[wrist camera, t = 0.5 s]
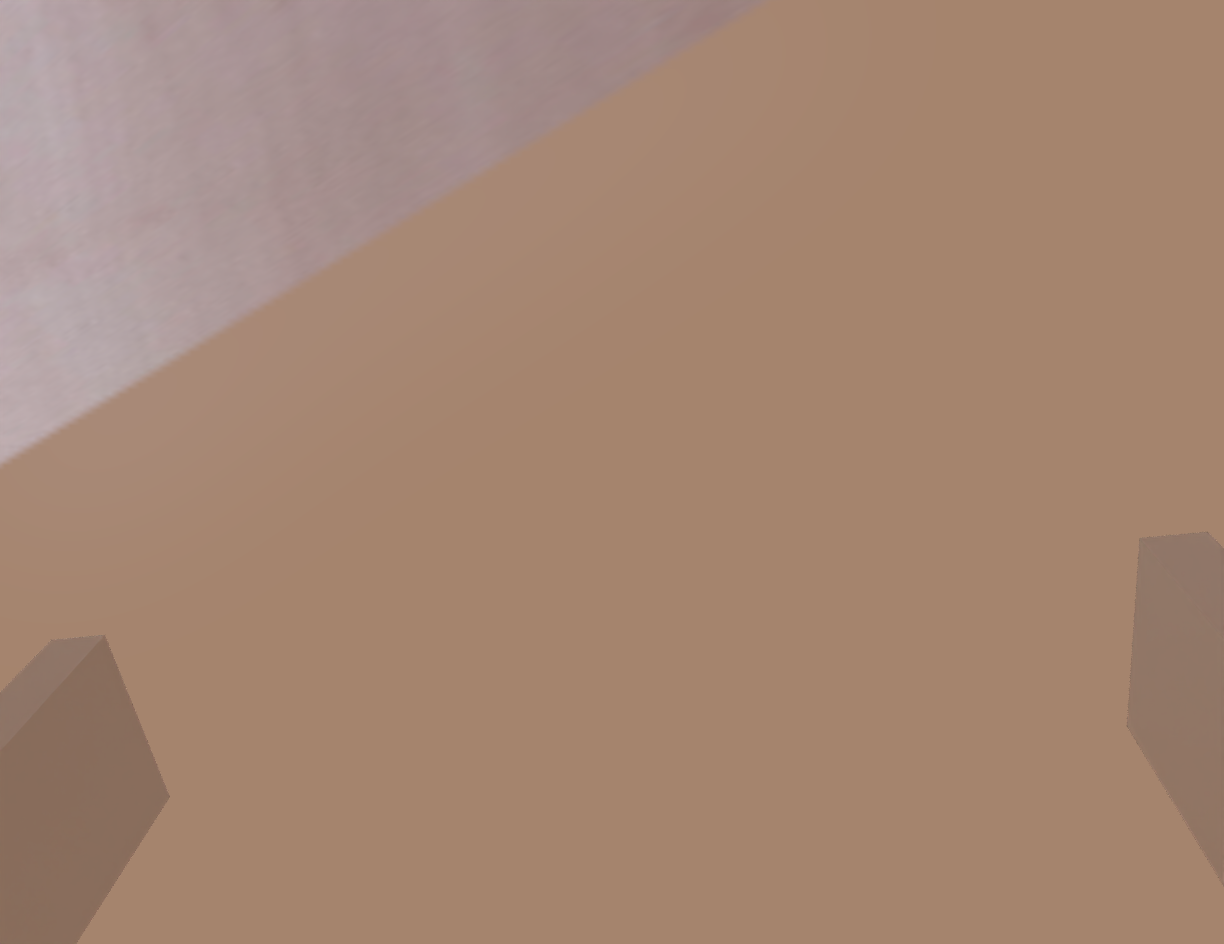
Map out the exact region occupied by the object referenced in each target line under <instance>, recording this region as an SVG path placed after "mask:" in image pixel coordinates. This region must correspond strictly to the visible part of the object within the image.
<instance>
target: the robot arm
mask: <svg viewBox="0 0 1224 944" xmlns="http://www.w3.org/2000/svg"><path fill="white" fill-rule="evenodd" d="M1133 629H1134V630H1133V643H1132V644H1133V645H1132V658H1131V673H1130V674H1131V675H1130V688H1129V703H1128V717H1127V727H1128V729H1129V730H1130V732H1131V734H1132V735H1133V737H1134V739H1135V740H1136V742H1137V744H1138V745H1139V747H1140V748H1141V750H1142V752H1143V754H1144V755H1145V757H1146V759H1147V760H1148V762H1149V764H1150V765H1151V767H1152V769H1153V770H1154V772H1155V773H1156V775H1157V777H1158V778H1159V780H1160V782H1161V783H1162V785H1163V787H1164V788H1165V790H1166V792H1167V793H1168V795H1169V797H1170V798H1171V800H1172V801H1173V803H1174V805H1175V807H1176V808H1177V810H1178V811H1179V813H1180V815H1181V816H1182V818H1183V820H1184V821H1185V823H1186V825H1187V826H1188V828H1189V830H1190V831H1191V833H1192V835H1193V836H1194V838H1195V840H1196V841H1197V843H1198V845H1199V846H1200V848H1201V849H1202V851H1203V853H1204V855H1205V856H1206V858H1207V860H1208V861H1209V863H1210V864H1211V866H1212V868H1213V869H1214V871H1215V873H1216V874H1217V876H1218V878H1219V879H1220V881H1221V883H1222V884H1223V886H1224V548H1223V547H1222V546H1221V545H1220V544H1219V543H1218V542H1217V541H1216V540H1215V539H1214V538H1213V537H1212V536H1211V535H1210V534H1209V533H1208V532H1200V533H1190V534H1179V535H1168V536H1158V537H1147V538H1140V540H1139V554H1138V571H1137V585H1136V599H1135V614H1134V628H1133ZM169 797H170V796H169V794H168V791H167V789H166V786H165V784H164V782H163V779H162V776H161V774H160V771H159V769H158V767H157V764H156V761H155V759H154V757H153V754H152V752H151V749H150V746H149V744H148V741H147V739H146V736H145V734H144V731H143V729H142V726H141V724H140V722H139V719H138V716H137V714H136V712H135V709H134V707H133V704H132V702H131V699H130V697H129V694H128V692H127V690H126V687H125V684H124V682H123V680H122V677H121V674H120V672H119V669H118V667H117V664H116V662H115V659H114V657H113V654H112V652H111V649H110V647H109V644H108V642H107V639H106V637H105V635H99V636H89V637H79V638H67V639H57V640H51V641H50V642H49V643H48V644H47V645H46V646H45V647H44V648H43V649H42V650H41V651H40V652H39V653H38V654H37V655H36V656H35V657H34V658H33V659H32V660H31V661H30V662H29V663H28V665H26V666H25V668H24V669H23V670H22V671H21V672H20V673H19V674H18V675H17V676H16V677H15V678H14V679H13V680H12V681H11V682H10V683H9V684H8V685H7V686H6V687H5V688H4V689H3V690H2V691H1V692H0V944H76V943H77V942H78V940H79V939H80V937H81V935H82V934H83V932H84V931H85V929H86V928H87V926H88V924H89V923H90V921H91V920H92V918H93V917H94V915H95V913H96V912H97V910H98V909H99V907H100V906H101V904H102V902H103V901H104V899H105V898H106V896H107V895H108V893H109V892H110V890H111V888H112V886H113V885H114V884H115V882H116V881H117V879H118V877H119V876H120V874H121V873H122V871H123V870H124V868H125V866H126V865H127V863H128V862H129V860H130V858H131V857H132V855H133V854H134V852H135V851H136V849H137V848H138V846H139V845H140V843H141V841H142V840H143V838H144V837H145V835H146V834H147V832H148V830H149V829H150V827H151V826H152V824H153V823H154V821H155V819H156V818H157V816H158V815H159V813H160V812H161V810H162V808H163V807H164V805H165V804H166V802H167V801H168V799H169Z"/></svg>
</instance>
